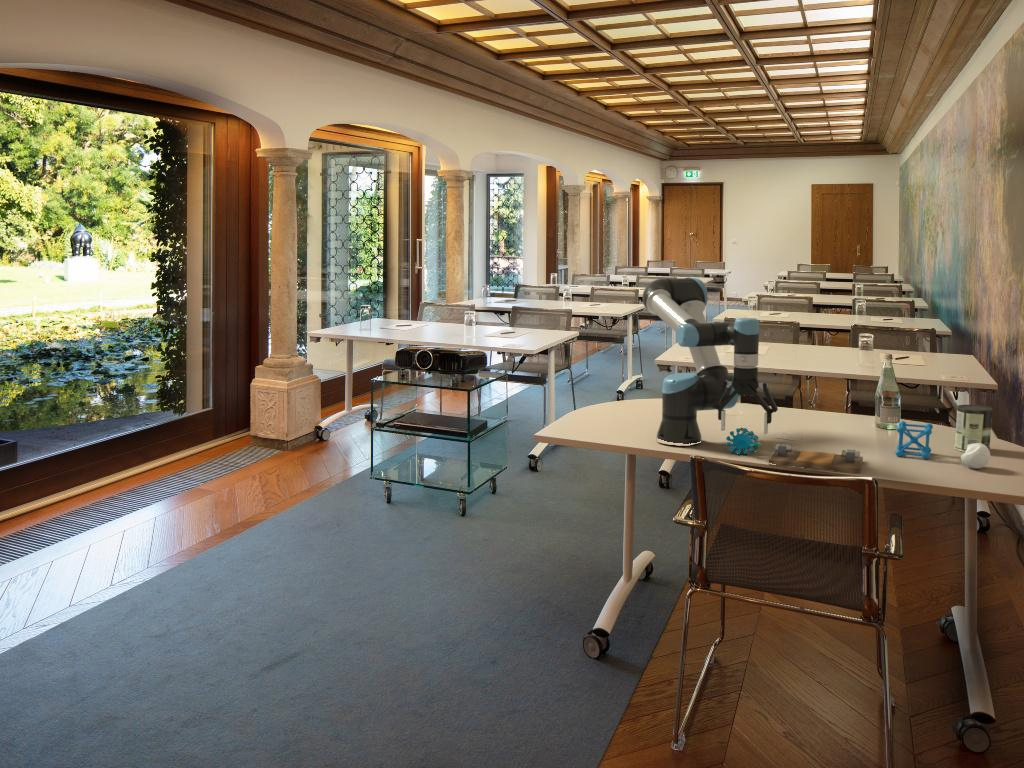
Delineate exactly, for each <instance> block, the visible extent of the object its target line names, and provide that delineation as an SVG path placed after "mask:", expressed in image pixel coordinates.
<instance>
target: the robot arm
mask: <svg viewBox="0 0 1024 768" xmlns="http://www.w3.org/2000/svg"><path fill="white" fill-rule="evenodd" d="M706 286H707V285H705V283H704V281H703V280H702V279H700V278H696V277H695V278H694V277H684V278H683V277H681V278H679V277H678V278H657V279H655V280H653V281H651V282H649V284H647V285H646V287H645V288H644V290H643V293H642V303H643V305H644V308H645V309H646V310H647V311H648V312H649V313H650V314H652V315H654V316H655V315H656V316H658V317H659V318H660V319H661V320H662V321H663V322H664V323H665V324H666V325H668V327H670V329H672V330H673V331H674V332H675V339H676V341H677V344H678V345H679V346H680V347H681V348H688V349H689V351H690V356H691V358H692V360H693V364H694V367H695V370H696V373H695V372H679V373H673V374H670V375H668V376H665V377H664V379H663V382H662V389H661V392H662V393H661V394H662V397H661V398H662V404H661V405H662V408H661V409H662V410H661V411H662V412H661V415H662V416H661V417H662V418H661V422H660V425H659V428H658V431H657V434H656V439H657V438H658V439H661V440H664V441H667V442H673V443H683V444H689V443H690V444H691V443H697V442H700V441H701V442H702V433H701V430H700V427H699V423H698V419H697V417H698V415H697V414H698V411H713V410H715V411H717V412H718V413H717V419H718V421H720V431H721V432H724V431H725V430H726V409H732V408H734V407H735V406H736V404H737V403H738V401H739V398H740V397H742V396H746V397H750V396H752V397H753V398H755V400H756V401H757V403H758V404H759V405H760V406H761V407H762V409H763V410H764V411H765V413H764V415H763V416H764V419H763V421H764V422H763V423H764V424H763V434H764V435H767V434H768V433H769V424H771V423H772V415H773V413H776V412H777V411H779V409H778V406H777V404H776V402H775V400H774V398H773V395H772V393H771V392H770V390H769V382H767V381H765V382H759V379H758V378H759V373H758V372H759V368H758V366H759V345H760V344H759V340H760V325H759V324H760V323H759V322H760V321H759V320H758V318H754V317H753V318H752V317H737V318H736V319H735V320H734V321H730V320H726V321H721V322H707V320H706V317H705V315H704V314H705V313H704V311H705V310H706V306H707V305H708V302H709V300H708V299H709V297H708V289H707V287H706ZM716 346H717V347H719V346H733V365H734V368H733V374H729V371H728V368H727V366H726V365H723V364H721V362H720V358H719V355H718V352H717V350H716ZM759 388H760V389H761V390H763V393H764V395H765V397H766V400H767V401H768V403H769V404H768V403H767V402H766V401H765V400H764V398H763V397H762V396H761V395H760V393H759V392H758V390H757V389H759Z"/></svg>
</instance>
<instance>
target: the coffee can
mask: <svg viewBox="0 0 1024 768" xmlns="http://www.w3.org/2000/svg"><path fill="white" fill-rule="evenodd" d="M993 412H994V408H993V407H990V406H987V405H982V404H981V405H979V404H959V405H957V406H956V422H955V423H956V424H955V438H954V450H955V449H956V450H955V451H958V452H961V451H962V452H961V453H965V452H966V450H967V445H969V444H974V443H981V444H984V445H985V446H986V447H987V448H988V449H989V451H990V449H991V448H990V447H991V436H992V435H991V434H992V424H993V423H992V420H993ZM990 452H991V451H990Z"/></svg>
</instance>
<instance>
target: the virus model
mask: <svg viewBox="0 0 1024 768" xmlns="http://www.w3.org/2000/svg"><path fill="white" fill-rule="evenodd" d="M735 431H736V435H735ZM735 431H734V430H731V431H730V432H729V434H730V435H728V436H727V437H726V438H725V439H726V441H727V442H726V447H728V448H729V447H730V448H729V450H730V452H731V453H733V452H735V454H736V453H738V454H740V455H741V452H742V451H743V453H744V454H747V455H748V453H749V452H750V453H753V452H755V451H757V452H758V450H759V448H760V447H762V443H761V441H758V436H755V432H754V431H753V430H750V431H749V432H748V428H745V427H744V428H743V430H742V432H741V428H739V427H738V428H736V429H735ZM740 432H741V433H740ZM731 437H732V438H731ZM730 442H731V443H730ZM743 449H744V450H743ZM748 449H749V452H748ZM744 454H743V455H744Z"/></svg>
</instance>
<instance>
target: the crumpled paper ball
mask: <svg viewBox="0 0 1024 768" xmlns="http://www.w3.org/2000/svg"><path fill="white" fill-rule="evenodd" d="M989 450H990V449H988V448H987V447H986V446H985V445H984V444H981V443H974V444H969V445H967V450H966V452H963V453H962V454H961V456H960V459H961V461H962V464H963V465H964V466H966V467H968V468H970V469H974V470H976V469H982V468H984V467H986V466H987V465H988V464H989V462H990V461H991V451H989Z"/></svg>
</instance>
